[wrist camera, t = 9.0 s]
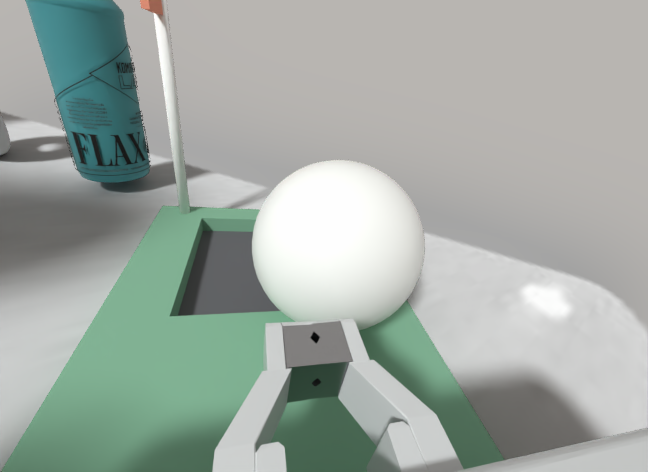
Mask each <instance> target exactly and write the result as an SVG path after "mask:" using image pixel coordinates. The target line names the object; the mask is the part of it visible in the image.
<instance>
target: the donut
mask: <svg viewBox="0 0 648 472" xmlns="http://www.w3.org/2000/svg"><path fill="white" fill-rule="evenodd" d="M10 145H11V143H10V138H9V134H8V131H7V128H6V125H5V123H4V120H3V117H2V115H1V112H0V156H1V155H3V154H5V153H7V152H8V150H9V149H10Z"/></svg>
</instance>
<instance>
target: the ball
mask: <svg viewBox="0 0 648 472" xmlns="http://www.w3.org/2000/svg"><path fill="white" fill-rule="evenodd" d="M424 254H425V239H424V232H423V227H422V223H421V220H420V217H419V214H418V212H417V210H416V208H415V206H414V204H413V202H412V201H411V199H410V197H409V196H408V195H407V193H406V192H405V191H404V190H403V189H402V188H401V187H400V186H399V185H398V184H397V183H396V182H395V181H394V180H393V179H392V178H390V177H389V176H388V175H386V174H385V173H383V172H381V171H380V170H378V169H376V168H374V167H371V166H368V165H366V164H363V163H359V162H354V161H348V160H330V161H323V162H318V163H314V164H311V165H308V166H305V167H303V168H301V169H299V170H297V171H295V172H294V173H292V174H291V175H289V176H288V177H286V178H285V179H284V180H282V181H281V182H280V183H279V184H278V185H277V186H276V187H275V188H274V189H273V191H272V192H271V193H270V194H269V195H268V197H267V198H266V200H265V201H264V203H263V205H262V207H261V209H260V211H259V213H258V216H257V218H256V222H255V225H254V230H253V237H252V256H253V263H254V268H255V271H256V274H257V278H258V280H259V282H260V284H261V286H262V288H263V290H264V291H265V293H266V294H267V296H268V297H269V299H270V300H271V301H272V303H273V304H274V305H275V306H276V307H277V308H278V309H279V310H280V311H281V312H283V313H284V314H285V315H286V316H287V317H289V318H291V319H292V320H294V321H295V322H309V321H316V320H330V319H350V318H353V319H354V320H355V322H356V325H357V328H358V330H363V329H366V328H369V327H371V326H373V325H376V324H378V323H380V322H382V321H383V320H385V319H386V318H388V317H390V316H391V315H392V314H393V313H394V312H396V311H397V310H398V309H399V308H400V307H401V306H402V304H403V303H404V302H405V301H406V300H407V299H408V298H409V296H410V294H411V293H412V291H413V290H414V288H415V286H416V284H417V281H418V279H419V277H420V274H421V271H422V267H423V262H424Z"/></svg>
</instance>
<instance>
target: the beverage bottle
mask: <svg viewBox="0 0 648 472" xmlns="http://www.w3.org/2000/svg"><path fill="white" fill-rule="evenodd" d="M25 1H26V3H27V6H28V9H29V13H30V16H31V19H32V22H33V25H34V29H35V32H36V35H37V38H38V41H39V44H40V47H41V51H42V54H43V57H44V61H45V64H46V67H47V70H48V73H49V76H50V80H51V83H52V86H53V89H54V92H55V97H56V98H55V99H56V101H57V104H58V108H59V111H60V114H61V117H62V121H63V124H64V128H65V131H66V134H67V137H68V140H67V139H66V142H67V141H69V143H67V144H69V145H70V147H71V150H72V153H70V155H71V154H73V156H71V158H72V157H74V159H73V160H75V163H73V164H74V165H75V164H76V167H77V169H76V168H75V169H76V170H78V171H79V173H80V174H81V176H82V177H84V178H85V179H88V180H92V181H97V182H125V181H131V180H135V179H139V178H142V177H144V176H146V175H147V174H148V173H149V168H150V166H151V165H149V162H150V161H149V159H148V153H149V149H148V144H147V145H146V142H145V136H144V131H143V127H144V126H142V121H143V120H142V119H141V113H140V108H139V102H138V97H137V91H136V88H137V87H136V85H135V80H134V79H135V78H134V74H133V72H134V71H133V67H132V66H133V65H132V64H133V63H131V61H132V60H131V57H130V52H129V48H128V42H127V37H126V31H125V25H124V14H123V12H122V10H121V9H120V8H119V7H118V6H117V5H116V4H115V2H114V1H113V0H25ZM134 70H135V68H134ZM60 120H61V119H60ZM63 131H64V130H63ZM64 135H65V134H64ZM67 137H66V138H67ZM146 146H147V148H146ZM69 149H70V148H69ZM71 150H69V151H70V152H71ZM147 152H148V153H147ZM149 156H150V155H149ZM73 162H74V161H73Z"/></svg>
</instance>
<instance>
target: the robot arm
mask: <svg viewBox="0 0 648 472" xmlns="http://www.w3.org/2000/svg"><path fill="white" fill-rule="evenodd" d="M263 364H264V371H262V372H261V374H260V376H259V377H258V379H257V381H256V382H255V384H254V386H253V387H252V389H251V391H250V392H249V394H248V396H247V397H246V399H245V401H244V402H243V404H242V406H241V407H240V409H239V411H238V412H237V414H236V416H235V417H234V419H233V421H232V422H231V424H230V426H229V427H228V429H227V431H226V432H225V434H224V436H223V437H222V439H221V441H220V442H219V444H218V446H217V447H216V449H215V452H214V461H213V470H212V472H287V471H286V459H285V447H284V446H283V445H282V444H280V443H279V442H274V443H271V440H272V438H273V436H274V433H275V431H276V429H277V426H278V424H279V421H280V419H281V417H282V414H283V412H284V410H285V407H286V405H287V403H290V402H296V401H302V400H309V399H316V398H326V397H336V396H338V398H339V400H340V401H341V402H342V403H343V405H344V406H345V407H346V408H347V410H348V411H349V412H350V414H351V415H352V416H353V417H354V419H355V420H356V421H357V422H358V424H359V425H360V426H361V428H362V429H363V430H364V431H365V433H366V434H367V435H368V436H369V438H370V439H371V440H372V441H373V443H374V444H375V445H376V447H377V448H376V450H375V452H374V454H373V455H372V457H371V459H370V461H369V463H368V465H367V467H366V468H367V472H648V428H644V429H640V430H635V431H631V432H626V433H622V434H617V435H613V436H609V437H604V438H600V439H595V440H591V441H587V442H582V443H578V444H573V445H569V446H565V447H560V448H556V449H551V450H547V451H543V452H538V453H534V454H529V455H525V456H521V457H516V458H512V459H507V460H503V461H499V462H494V463H490V464H485V465H481V466H477V467H472V468H468V469H463V467H462V465H461V463H460V461H459V459H458V457H457V455H456V453H455V451H454V449H453V447H452V445H451V443H450V441H449V439H448V437H447V435H446V433H445V431H444V429H443V427H442V425H441V423H440V421H439V419H438V417H437V415H436V414H435V413H434V412H433V411H432V410H430V409H429V408H428V407H427V406H426V405H425V404H424V403H423V402H421V401H420V400H419V399H418V398H417V397H416V396H415V395H413V394H412V393H411V392H410V391H409V390H408V389H407V388H406V387H404V386H403V385H402V384H401V383H400V382H399V381H398V380H396V379H395V378H394V377H393V376H392V375H391V374H390V373H388V372H387V371H386V370H385V369H384V368H383V367H382V366H381V365H379V364H378V363H377V362H376V361H375V360H370V359H369V356H368V354H367V351H366V349H365V346H364V343H363V341H362V338H361V335H360V333H359V330H358V328H357V325H356V322H355V320H354V319H353V318H350V319H330V320H316V321H309V322H282V323H266V324H265V335H264V358H263Z"/></svg>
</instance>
